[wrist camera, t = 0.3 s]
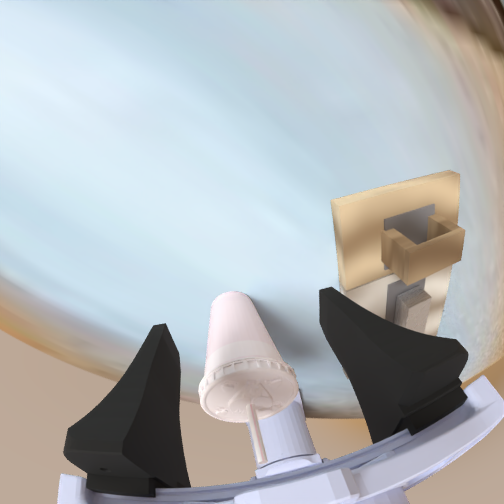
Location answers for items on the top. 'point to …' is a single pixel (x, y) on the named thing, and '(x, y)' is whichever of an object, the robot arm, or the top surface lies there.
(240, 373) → the smoothie
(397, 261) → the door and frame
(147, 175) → the top surface
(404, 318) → the brushed metal block
